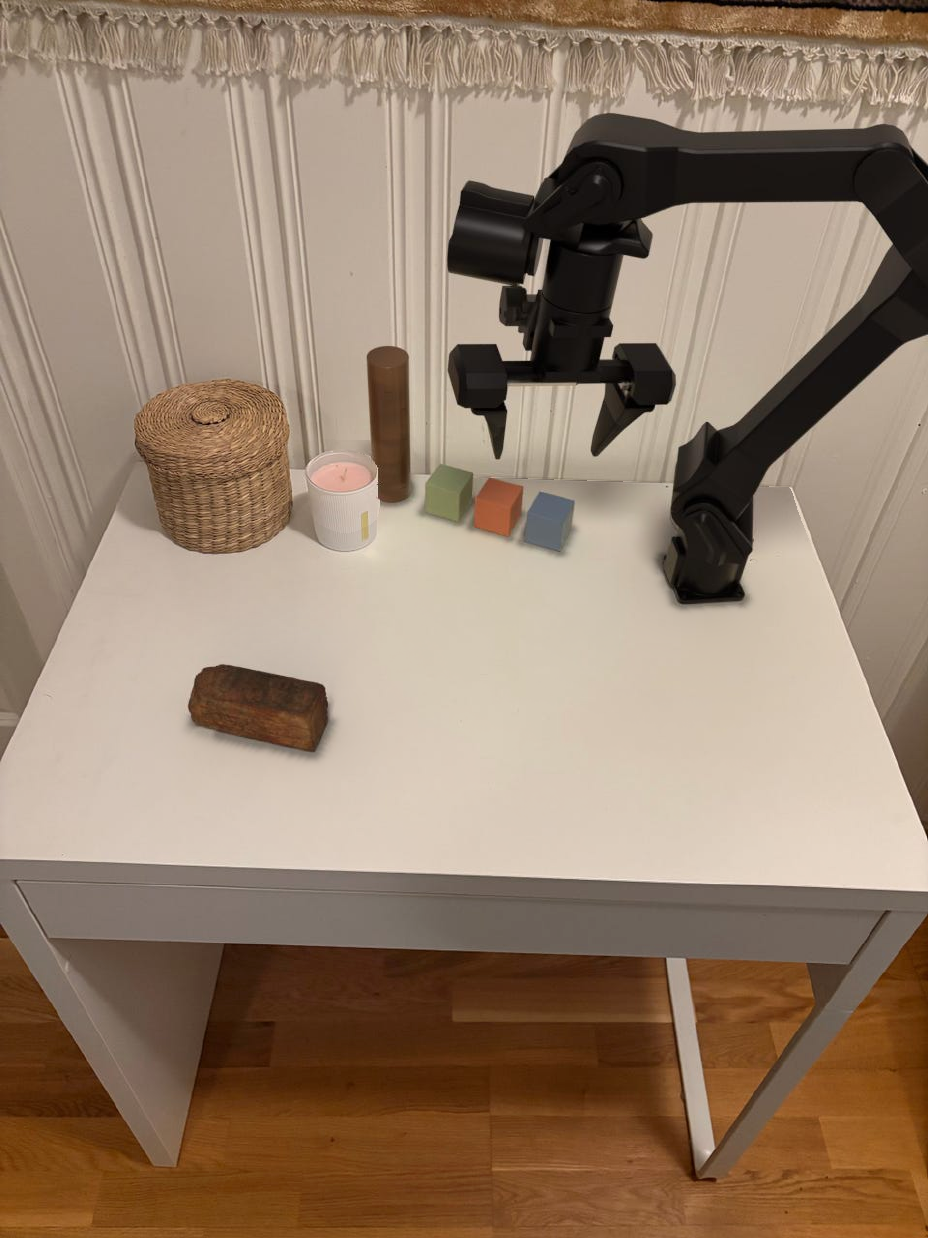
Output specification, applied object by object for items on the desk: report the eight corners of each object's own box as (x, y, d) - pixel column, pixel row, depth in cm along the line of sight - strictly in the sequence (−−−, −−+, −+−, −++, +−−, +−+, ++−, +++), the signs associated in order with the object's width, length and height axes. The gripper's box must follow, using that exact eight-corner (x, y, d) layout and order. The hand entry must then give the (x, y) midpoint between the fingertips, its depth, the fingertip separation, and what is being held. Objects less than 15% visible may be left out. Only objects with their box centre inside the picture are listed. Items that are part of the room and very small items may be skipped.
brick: (330, 717, 78) (326, 681, 74) (314, 755, 75) (309, 719, 71) (212, 692, 79) (203, 655, 76) (192, 728, 76) (181, 691, 73)
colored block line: (571, 529, 95) (575, 500, 93) (559, 551, 93) (563, 522, 90) (439, 492, 99) (439, 463, 96) (424, 512, 97) (424, 483, 94)
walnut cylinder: (417, 485, 100) (415, 351, 88) (401, 506, 97) (397, 371, 86) (383, 475, 101) (378, 341, 89) (366, 496, 98) (359, 361, 87)
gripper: (656, 249, 80) (617, 402, 92) (445, 246, 77) (431, 406, 88) (700, 315, 73) (652, 473, 84) (468, 315, 69) (450, 479, 81)
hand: (545, 455), depth 85 cm, fingers open, 9 cm apart
